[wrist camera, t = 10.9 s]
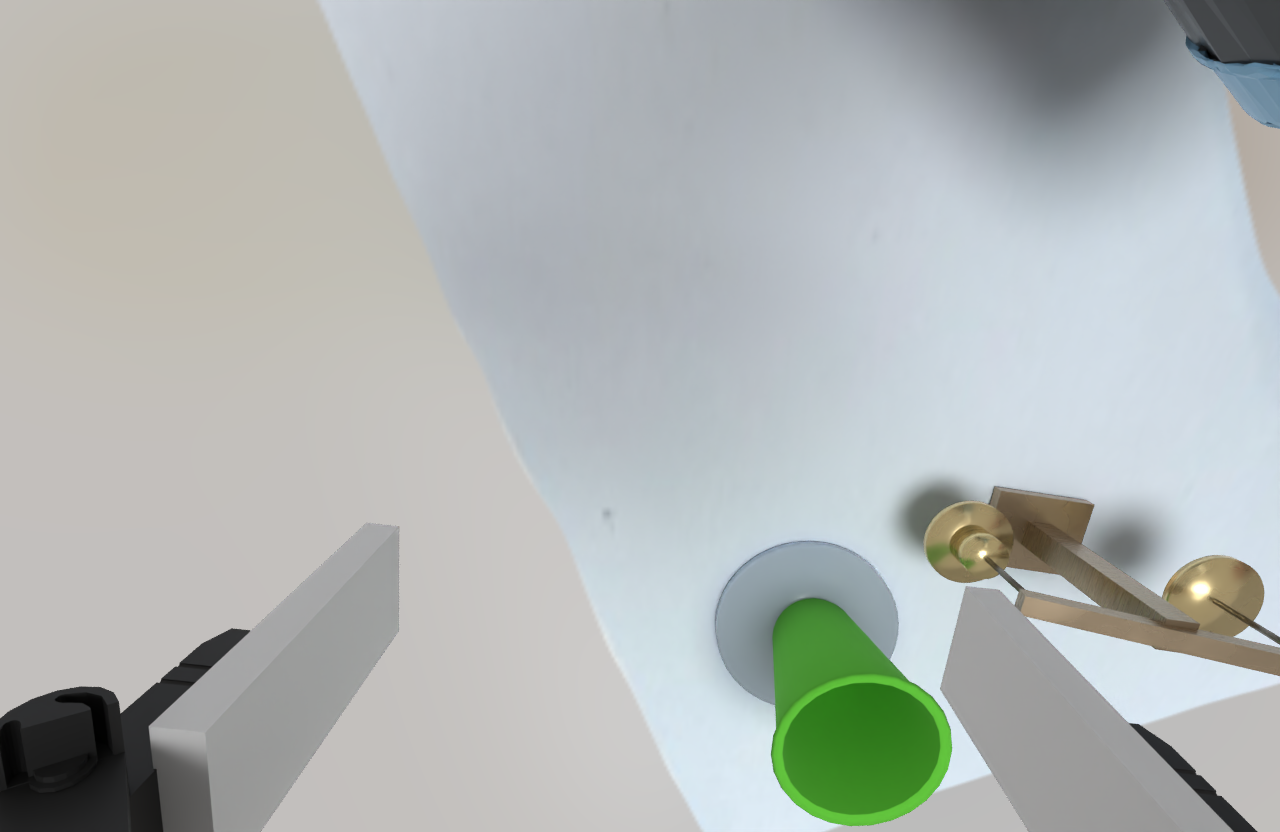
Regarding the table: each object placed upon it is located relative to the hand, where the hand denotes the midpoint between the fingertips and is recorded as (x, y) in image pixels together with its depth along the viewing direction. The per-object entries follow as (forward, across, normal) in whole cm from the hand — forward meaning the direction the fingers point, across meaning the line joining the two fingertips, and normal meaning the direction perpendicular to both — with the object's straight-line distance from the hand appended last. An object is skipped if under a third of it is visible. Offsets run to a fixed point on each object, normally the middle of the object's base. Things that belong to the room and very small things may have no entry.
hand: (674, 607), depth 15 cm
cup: (+26, +11, -16) cm, 32 cm away
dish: (+26, +11, -16) cm, 33 cm away
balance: (+27, +24, -7) cm, 37 cm away
